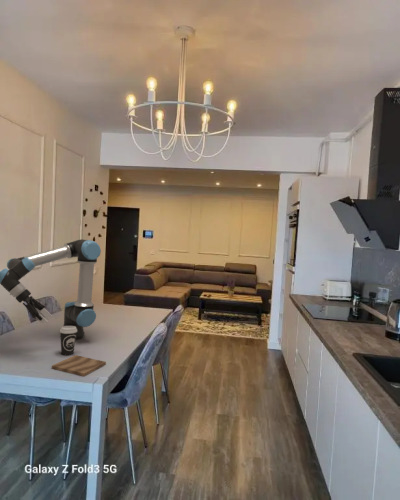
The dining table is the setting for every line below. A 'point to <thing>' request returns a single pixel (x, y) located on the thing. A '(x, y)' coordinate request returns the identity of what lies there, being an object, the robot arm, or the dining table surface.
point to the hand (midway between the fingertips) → (48, 320)
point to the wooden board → (78, 365)
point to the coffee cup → (68, 339)
